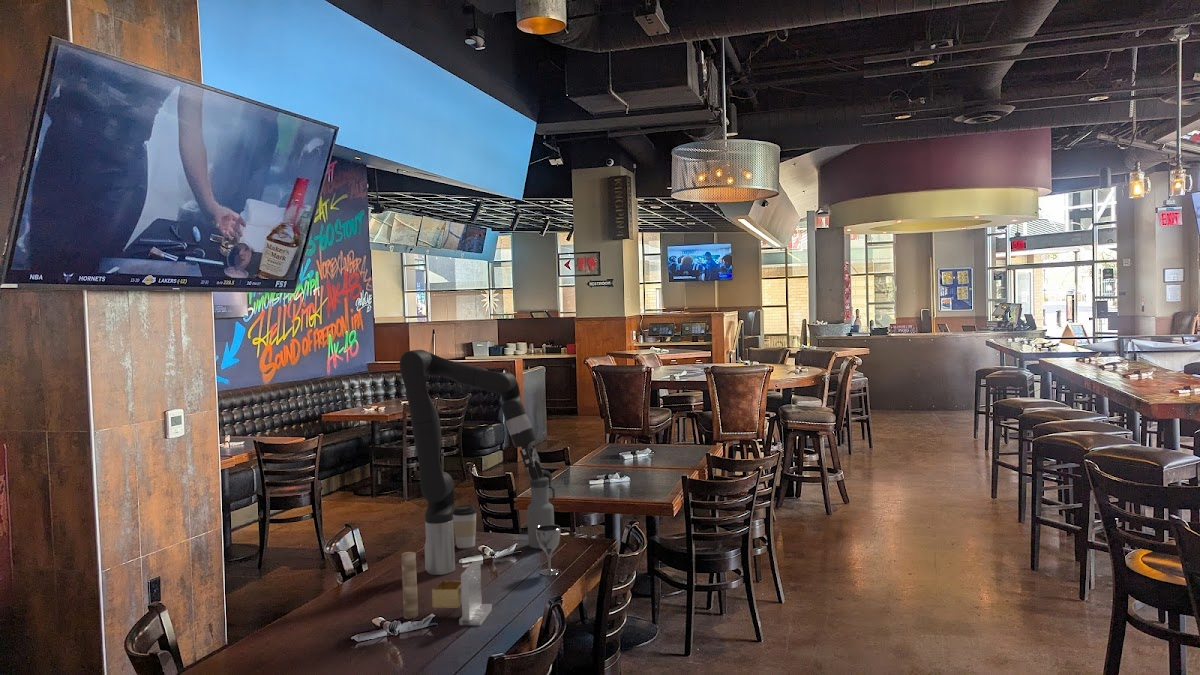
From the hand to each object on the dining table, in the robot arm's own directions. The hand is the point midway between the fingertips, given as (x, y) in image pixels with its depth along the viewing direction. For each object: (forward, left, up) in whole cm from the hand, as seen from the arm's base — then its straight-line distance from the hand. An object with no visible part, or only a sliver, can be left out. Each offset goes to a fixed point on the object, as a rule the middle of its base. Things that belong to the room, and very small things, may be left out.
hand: (538, 477), depth 250 cm
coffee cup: (-49, +12, -33) cm, 60 cm away
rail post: (-10, -45, -33) cm, 56 cm away
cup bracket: (+3, -37, -33) cm, 49 cm away
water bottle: (-24, +27, -33) cm, 49 cm away
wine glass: (-1, +5, -33) cm, 33 cm away
